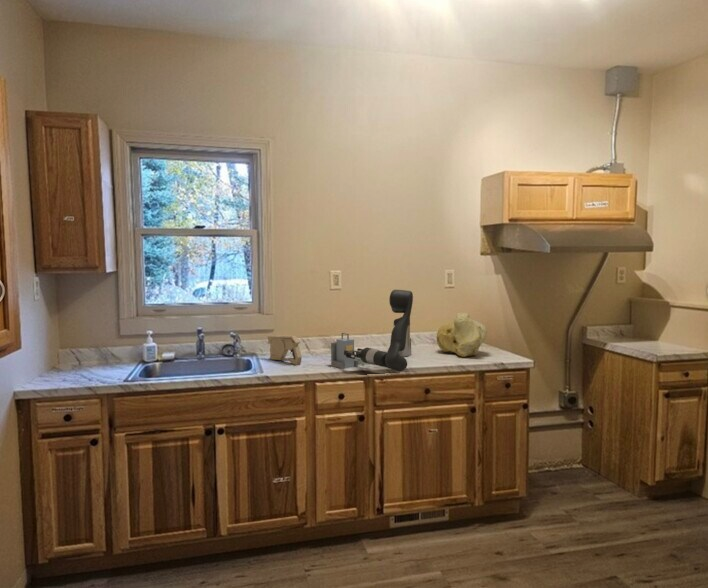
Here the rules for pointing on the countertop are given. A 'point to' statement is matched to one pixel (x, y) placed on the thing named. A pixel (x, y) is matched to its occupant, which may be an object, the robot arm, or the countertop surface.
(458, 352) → the sculpture
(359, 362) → the tray
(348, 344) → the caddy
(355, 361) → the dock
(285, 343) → the tan cutout panel
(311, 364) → the countertop surface
